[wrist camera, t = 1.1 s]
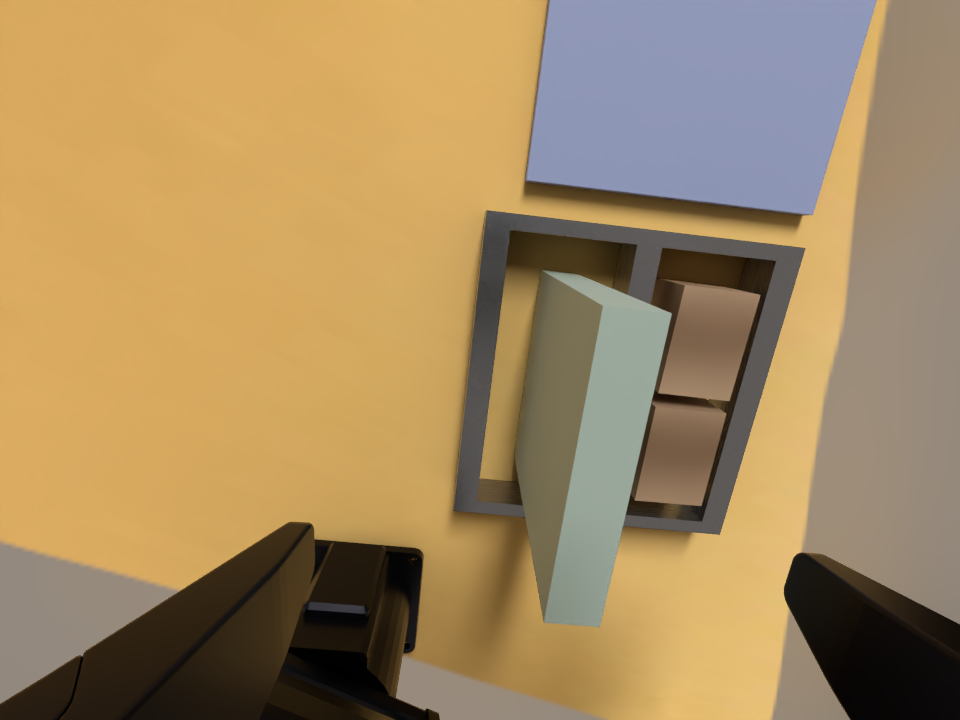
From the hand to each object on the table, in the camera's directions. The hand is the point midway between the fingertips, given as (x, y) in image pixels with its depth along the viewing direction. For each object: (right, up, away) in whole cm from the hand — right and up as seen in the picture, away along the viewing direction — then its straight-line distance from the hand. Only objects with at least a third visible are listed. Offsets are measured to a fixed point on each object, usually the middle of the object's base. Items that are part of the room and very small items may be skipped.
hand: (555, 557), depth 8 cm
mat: (+7, +15, +9) cm, 19 cm away
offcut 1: (+8, +5, +12) cm, 15 cm away
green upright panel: (+2, +3, +13) cm, 13 cm away
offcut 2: (+7, 0, +14) cm, 16 cm away
